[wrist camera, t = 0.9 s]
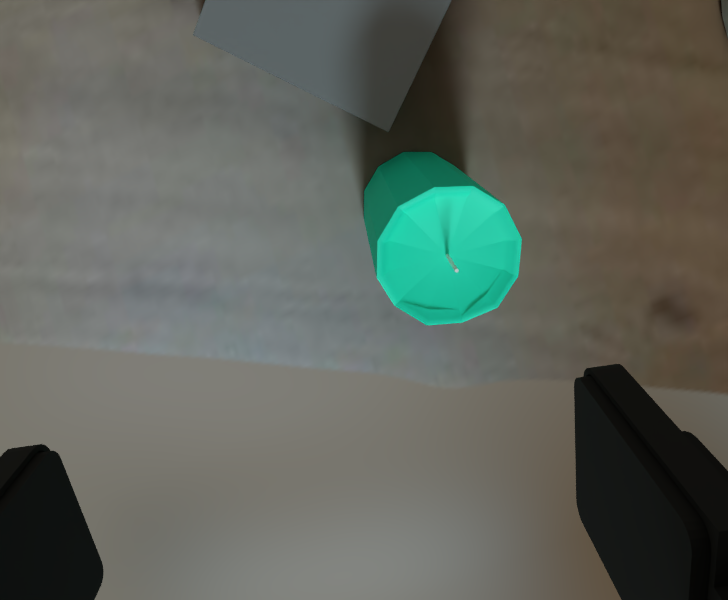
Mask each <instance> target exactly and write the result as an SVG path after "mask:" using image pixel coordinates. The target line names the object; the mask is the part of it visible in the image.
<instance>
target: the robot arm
mask: <svg viewBox="0 0 728 600" xmlns="http://www.w3.org/2000/svg"><path fill="white" fill-rule="evenodd" d="M721 5H722V17H723V21H724V25H725V29H726V33H727V37H728V0H721ZM574 396H575V397H574V399H575V448H576V449H575V450H576V499H577V507H578V511H579V515H580V518H581V521H582V523H583V524H584V527H585V529H586V531H587V533H588V535H589V537H590V538H591V540H592V542H593V544H594V546H595V548H596V550H597V552H598V554H599V556H600V558H601V560H602V562H603V564H604V566H605V568H606V570H607V572H608V573H609V576H610V578H611V580H612V581H613V584H614V586H615V588H616V589H617V592H618V594H619V595H620V597H621V599H622V600H728V471H727V470H726V469H725V468H724V467H723V465H722V464H721V463H720V462H719V461H718V460H717V459H716V458H715V457H714V456H713V455H712V454H711V453H710V451H709V450H708V449H707V448H706V447H705V446H704V445H703V444H702V443H701V442H700V441H699V440H698V438H696V437H695V436H694V435H693V434H692V433H689V432H686V431H681V430H680V429H679V428H678V427H677V426H676V425H675V424H674V423H673V421H672V420H671V419H670V418H669V417H668V416H667V415H666V414H665V413H664V411H663V410H662V409H661V408H660V407H659V406H658V405H657V404H656V403H655V401H654V400H653V399H652V398H651V397H650V396H649V395H648V394H647V393H646V392H645V390H644V389H643V388H642V387H641V386H640V385H639V384H638V383H637V382H636V380H635V379H634V378H633V377H632V376H631V375H630V374H629V373H628V372H627V370H626V369H625V368H624V367H623V366H622V365H620V364H614V365H607V366H599V367H592V368H587V369H586V370H585V372H584V377H580V378H576V379H575V383H574ZM102 579H103V565H102V561H101V559H100V556H99V554H98V551H97V549H96V546H95V544H94V541H93V539H92V536H91V534H90V531H89V529H88V526H87V523H86V521H85V518H84V516H83V513H82V511H81V509H80V506H79V503H78V501H77V498H76V496H75V493H74V491H73V488H72V486H71V483H70V481H69V478H68V476H67V473H66V470H65V468H64V465H63V463H62V460H61V458H60V456H59V454H58V453H56V452H55V451H50V449H49V448H48V447H47V446H45V445H42V444H40V445H33V446H25V447H19V448H12V449H8V450H7V451H6V452H4V453H3V455H2V456H1V457H0V600H94V599H95V597H96V595H97V593H98V590H99V588H100V586H101V583H102Z"/></svg>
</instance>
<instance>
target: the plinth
mask: <svg viewBox="0 0 728 600" xmlns="http://www.w3.org/2000/svg"><path fill="white" fill-rule="evenodd" d="M450 2H451V0H205V3H204V5H203V8H202V11H201V14H200V17H199V20H198V22H197V25H196V28H195V31H194V34H193V35H194V36H196V37H198V38H200V39H202V40H204V41H206V42H208V43H210V44H212V45H214V46H216V47H218V48H220V49H222V50H224V51H226V52H228V53H230V54H232V55H234V56H236V57H238V58H240V59H242V60H244V61H246V62H248V63H250V64H252V65H254V66H256V67H258V68H260V69H262V70H264V71H266V72H268V73H270V74H272V75H274V76H276V77H278V78H280V79H282V80H284V81H286V82H288V83H290V84H292V85H294V86H296V87H298V88H300V89H302V90H304V91H306V92H308V93H310V94H312V95H314V96H316V97H318V98H320V99H322V100H324V101H326V102H328V103H330V104H333V105H335V106H337V107H339V108H341V109H343V110H345V111H347V112H349V113H351V114H353V115H355V116H357V117H359V118H361V119H363V120H365V121H367V122H369V123H371V124H373V125H375V126H377V127H379V128H381V129H383V130H385V131H387V132H389V130H390V128H391V126H392V124H393V122H394V120H395V118H396V115H397V113H398V111H399V109H400V107H401V105H402V103H403V101H404V99H405V97H406V95H407V92H408V90H409V88H410V86H411V84H412V82H413V80H414V78H415V76H416V74H417V72H418V69H419V67H420V65H421V63H422V61H423V59H424V57H425V55H426V53H427V51H428V49H429V46H430V44H431V42H432V40H433V38H434V36H435V34H436V32H437V30H438V28H439V26H440V23H441V21H442V19H443V17H444V15H445V13H446V11H447V9H448V7H449V5H450Z"/></svg>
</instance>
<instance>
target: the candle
mask: <svg viewBox="0 0 728 600" xmlns="http://www.w3.org/2000/svg"><path fill="white" fill-rule="evenodd" d="M364 221H365V226H366V230H367V235H368V240H369V244H370V249H371V253H372V258H373V263H374V267H375V272H376V276H377V279H378V280H379V282H380V284H381V285H382V287H383V288H384V290H385V292H386V293H387V295H388V296H389V298H390V299H391V301H392V303H393V304H394V306H396V307H397V308H399V309H401V310H402V311H404V312H406V313H407V314H409V315H411V316H412V317H414V318H415V319H417V320H419V321H420V322H422V323H424V324H425V325H438V324H450V323H462V322H465V321H467V320H470V319H472V318H474V317H477V316H479V315H481V314H484V313H486V312H489V311H491V310H493V309H496V308H498V306H499V305H500V303H501V302H502V300H503V298H504V297H505V295H506V294H507V292H508V291H509V289H510V288H511V286H512V285H513V283H514V282H515V280H516V279H517V277H518V274H519V263H520V252H521V242H522V238H521V236H520V234H519V232H518V230H517V228H516V226H515V224H514V222H513V220H512V218H511V216H510V214H509V212H508V210H507V208H506V206H505V205H504V204H503V203H502V202H500V201H499V200H498V199H497V198H495V197H494V196H493V195H491V194H490V193H489V192H488V191H486V190H485V189H484V188H482V187H481V186H480V185H479V184H477V183H476V182H475V181H473V180H472V179H471V178H470V177H468V176H467V175H466V174H464V173H463V172H462V171H461V170H459V169H458V168H457V167H456V166H454V165H452V164H451V163H449V162H447V161H446V160H444V159H442V158H441V157H439V156H438V155H436V154H434V153H433V152H402V153H401V154H399V155H397V156H395V157H394V158H392V159H390V160H389V161H387V162H385V163H383V164H382V165H380V166H378V168H377V170H376V171H375V173H374V175H373V177H372V178H371V180H370V182H369V183H368V185H367V187H366V189H365V190H364Z"/></svg>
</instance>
